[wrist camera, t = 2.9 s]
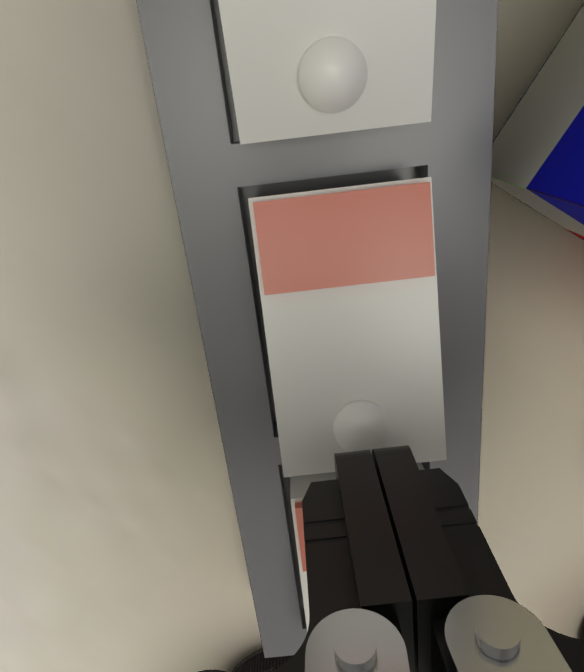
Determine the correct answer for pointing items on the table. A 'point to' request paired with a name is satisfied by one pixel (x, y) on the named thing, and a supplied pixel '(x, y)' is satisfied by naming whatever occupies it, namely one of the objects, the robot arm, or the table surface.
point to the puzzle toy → (548, 137)
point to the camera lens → (261, 663)
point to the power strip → (240, 262)
